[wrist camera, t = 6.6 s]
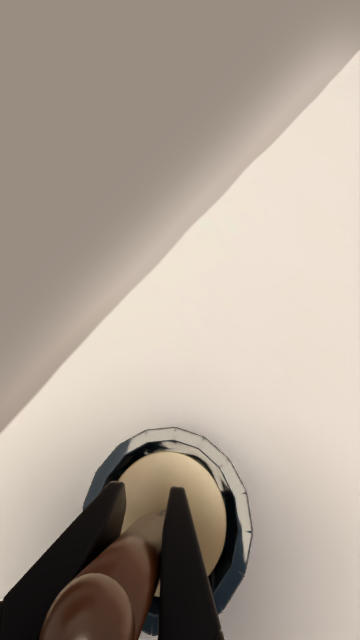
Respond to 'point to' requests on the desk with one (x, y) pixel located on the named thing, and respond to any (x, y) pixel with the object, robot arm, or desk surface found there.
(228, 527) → the faceted dark-rimmed cup
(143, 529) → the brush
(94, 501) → the robot arm
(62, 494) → the desk surface
